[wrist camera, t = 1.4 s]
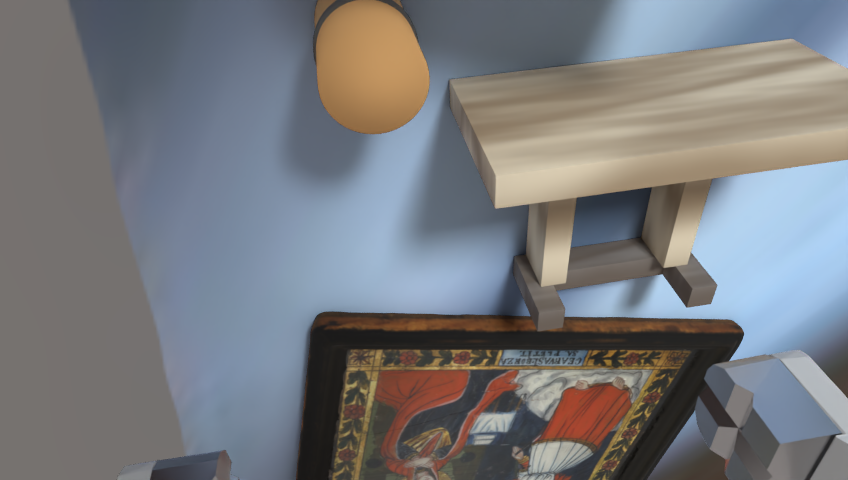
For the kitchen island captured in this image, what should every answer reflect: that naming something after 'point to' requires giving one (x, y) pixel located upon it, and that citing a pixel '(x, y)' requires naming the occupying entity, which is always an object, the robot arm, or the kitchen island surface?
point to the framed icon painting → (500, 395)
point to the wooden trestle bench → (643, 151)
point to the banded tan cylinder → (368, 64)
